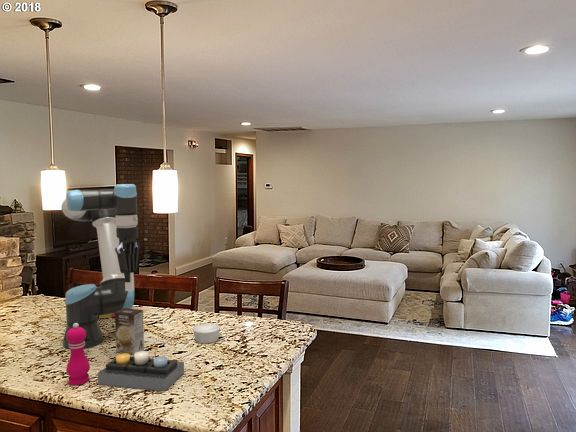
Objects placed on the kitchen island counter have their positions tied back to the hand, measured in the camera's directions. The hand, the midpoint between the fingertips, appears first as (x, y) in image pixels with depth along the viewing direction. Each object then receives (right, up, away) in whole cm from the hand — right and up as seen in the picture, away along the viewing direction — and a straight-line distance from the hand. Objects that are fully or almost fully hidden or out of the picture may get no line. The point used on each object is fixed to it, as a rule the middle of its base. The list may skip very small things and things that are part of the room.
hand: (129, 290), depth 171 cm
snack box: (-32, -22, +55) cm, 67 cm away
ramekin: (+24, -25, +22) cm, 41 cm away
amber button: (+2, -27, -12) cm, 30 cm away
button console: (+9, -28, -14) cm, 32 cm away
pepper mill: (-12, -28, -15) cm, 34 cm away
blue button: (+16, -27, -16) cm, 35 cm away
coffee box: (-4, -26, +11) cm, 28 cm away
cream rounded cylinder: (+9, -25, -14) cm, 30 cm away
